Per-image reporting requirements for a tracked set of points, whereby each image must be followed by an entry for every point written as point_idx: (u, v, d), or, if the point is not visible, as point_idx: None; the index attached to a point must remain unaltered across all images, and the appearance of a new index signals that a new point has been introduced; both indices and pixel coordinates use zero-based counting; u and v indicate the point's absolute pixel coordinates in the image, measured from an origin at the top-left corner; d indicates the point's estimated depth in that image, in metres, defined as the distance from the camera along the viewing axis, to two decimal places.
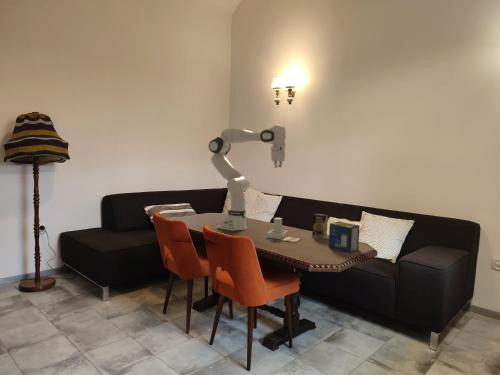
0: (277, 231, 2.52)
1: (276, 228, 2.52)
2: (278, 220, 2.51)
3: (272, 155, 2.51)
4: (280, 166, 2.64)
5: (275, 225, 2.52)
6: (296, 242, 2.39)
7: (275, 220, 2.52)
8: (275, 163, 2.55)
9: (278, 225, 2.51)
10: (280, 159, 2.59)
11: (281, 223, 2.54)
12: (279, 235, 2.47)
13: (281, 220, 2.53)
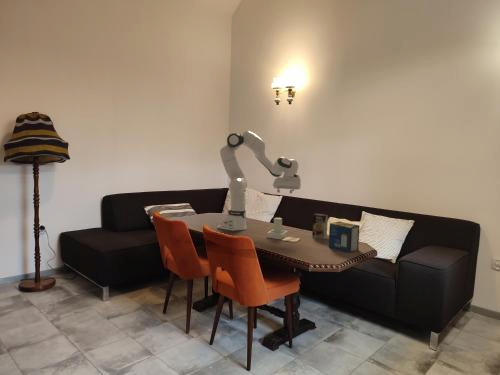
0: (277, 231, 2.52)
1: (276, 228, 2.52)
2: (278, 220, 2.51)
3: (299, 183, 2.62)
4: (279, 191, 2.65)
5: (275, 225, 2.52)
6: (296, 242, 2.39)
7: (275, 220, 2.52)
8: (293, 189, 2.61)
9: (278, 225, 2.51)
10: None
11: (281, 223, 2.54)
12: (279, 235, 2.47)
13: (281, 220, 2.53)
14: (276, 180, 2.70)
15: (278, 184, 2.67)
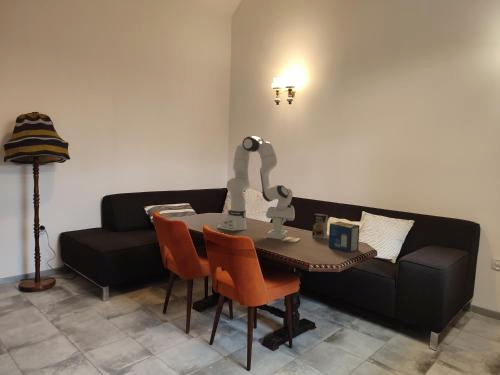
0: (277, 231, 2.52)
1: (276, 228, 2.52)
2: (278, 220, 2.51)
3: (293, 214, 2.53)
4: None
5: (275, 225, 2.52)
6: (296, 242, 2.39)
7: (275, 220, 2.52)
8: (284, 220, 2.53)
9: (278, 225, 2.51)
10: None
11: None
12: (279, 235, 2.47)
13: (281, 220, 2.53)
14: (269, 210, 2.60)
15: (271, 214, 2.57)
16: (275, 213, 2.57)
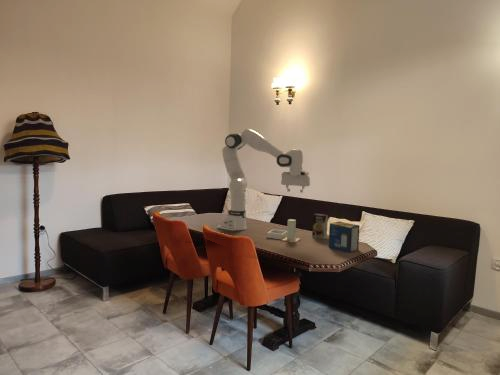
0: (291, 233, 2.43)
1: (289, 230, 2.43)
2: (292, 222, 2.42)
3: (308, 181, 2.51)
4: (289, 190, 2.59)
5: (289, 227, 2.43)
6: (296, 242, 2.39)
7: (289, 222, 2.42)
8: (303, 188, 2.54)
9: (292, 227, 2.42)
10: None
11: (295, 225, 2.44)
12: (279, 235, 2.47)
13: (295, 222, 2.44)
14: (283, 178, 2.58)
15: (287, 183, 2.57)
16: (290, 181, 2.56)
